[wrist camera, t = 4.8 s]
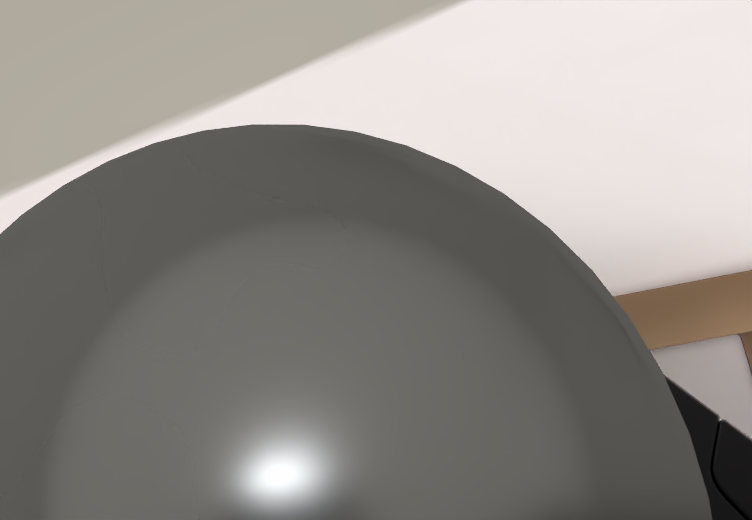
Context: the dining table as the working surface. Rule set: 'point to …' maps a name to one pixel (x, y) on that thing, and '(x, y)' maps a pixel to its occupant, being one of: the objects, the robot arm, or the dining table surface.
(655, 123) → the dining table surface
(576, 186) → the dining table surface
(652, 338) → the frame
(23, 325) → the metal canister
